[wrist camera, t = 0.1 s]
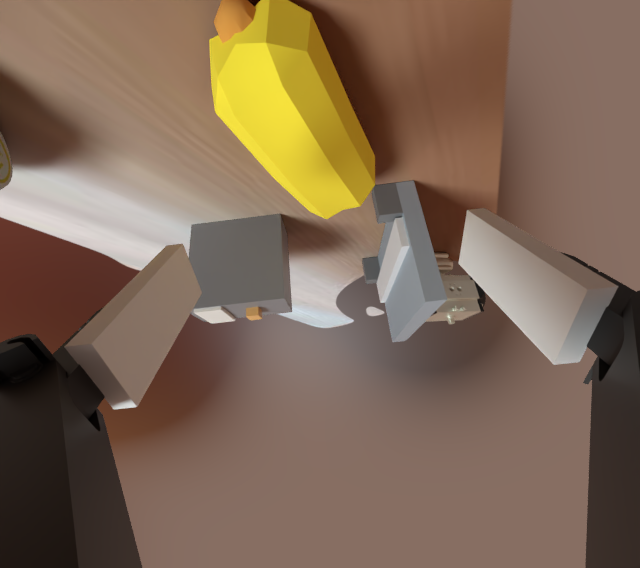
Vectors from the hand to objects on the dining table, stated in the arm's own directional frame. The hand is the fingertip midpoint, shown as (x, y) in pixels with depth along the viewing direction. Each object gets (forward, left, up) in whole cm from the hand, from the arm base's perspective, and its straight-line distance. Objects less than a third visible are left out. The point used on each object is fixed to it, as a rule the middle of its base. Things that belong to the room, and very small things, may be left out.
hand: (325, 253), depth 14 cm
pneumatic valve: (+33, +19, -15) cm, 41 cm away
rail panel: (+23, +8, -15) cm, 29 cm away
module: (+19, -10, -15) cm, 27 cm away
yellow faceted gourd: (+4, 0, -16) cm, 16 cm away
